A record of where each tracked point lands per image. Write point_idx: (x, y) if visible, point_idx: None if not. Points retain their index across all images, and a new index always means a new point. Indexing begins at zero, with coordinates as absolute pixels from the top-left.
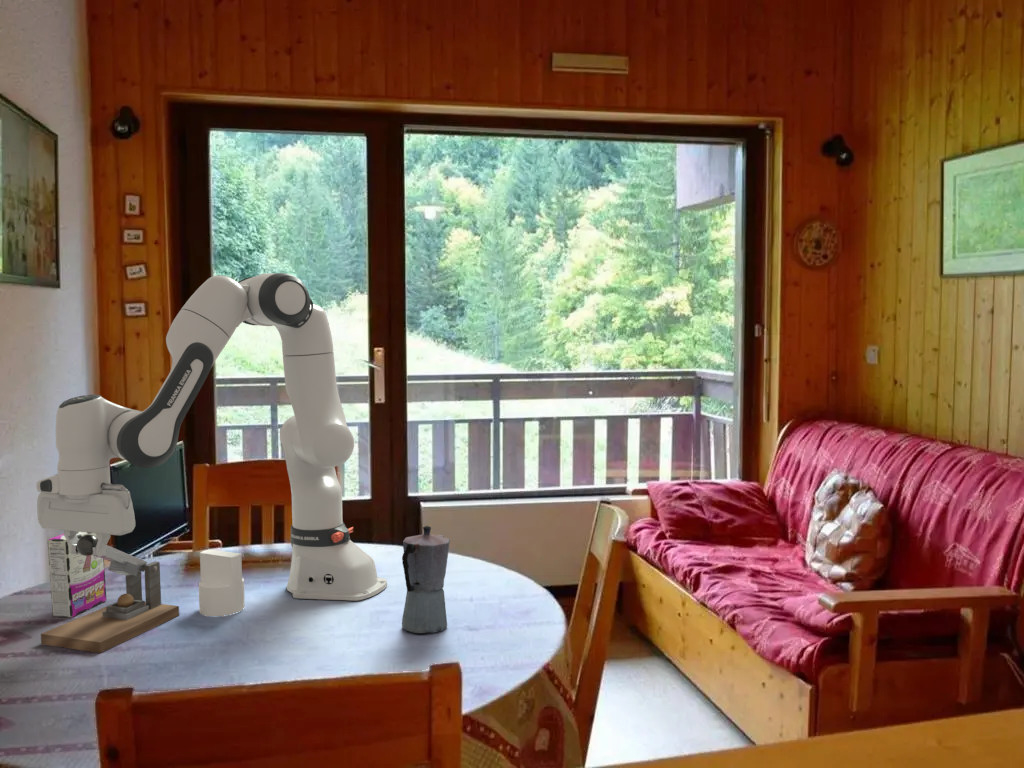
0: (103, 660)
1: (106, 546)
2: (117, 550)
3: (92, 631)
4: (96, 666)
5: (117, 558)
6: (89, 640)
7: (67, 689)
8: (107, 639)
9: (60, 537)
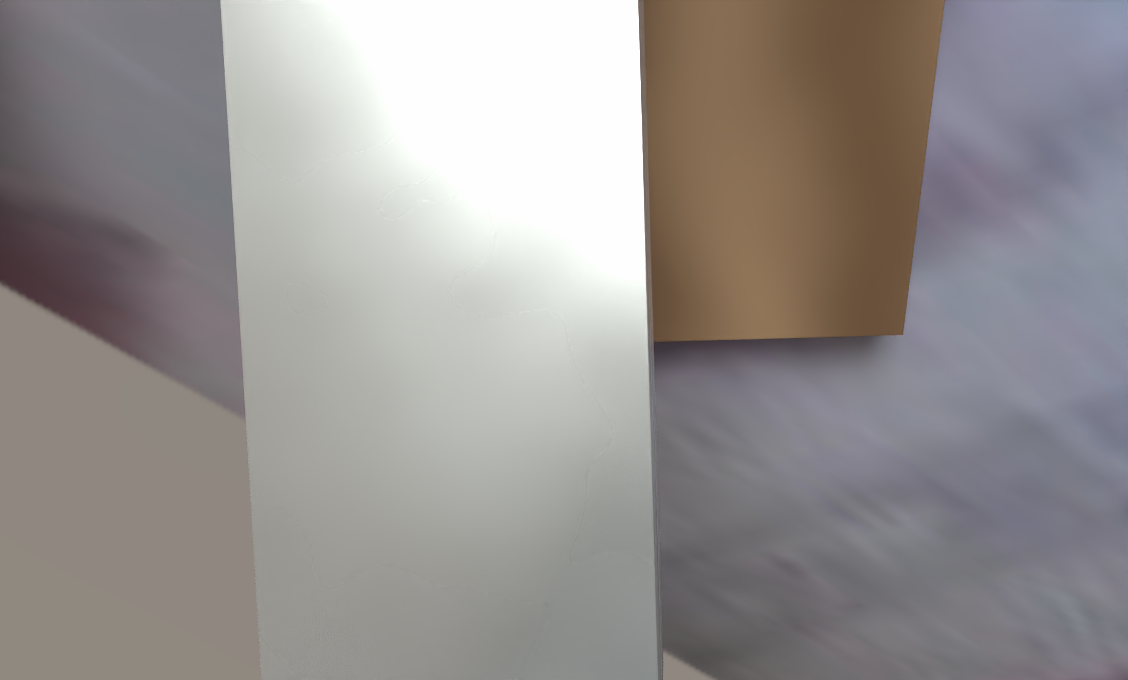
0: (998, 364)
1: (653, 628)
2: (639, 211)
3: (654, 192)
4: (1017, 438)
5: (646, 136)
6: (790, 332)
7: (1061, 651)
8: (909, 267)
9: None
